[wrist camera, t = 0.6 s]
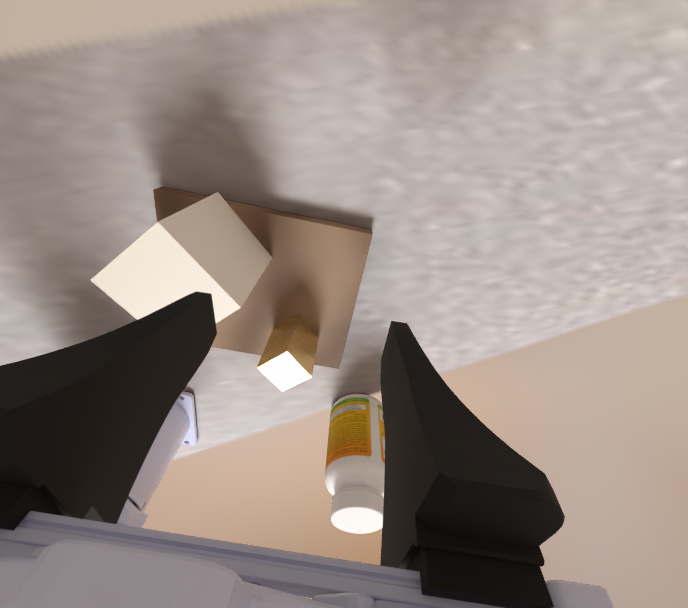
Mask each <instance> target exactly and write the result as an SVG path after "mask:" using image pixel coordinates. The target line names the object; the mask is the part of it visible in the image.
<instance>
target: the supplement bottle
mask: <svg viewBox="0 0 688 608" xmlns="http://www.w3.org/2000/svg"><path fill="white" fill-rule="evenodd" d="M384 473H385V431H384V419H383V407H382V403H381V402H380V401H378V400H377V399H375V398H374V397H372V396H369V395H365V394H350V395H346V396H343V397H342V398H340V399H338V400H337V401H336V402H335V403H334V405H333V407H332V409H331V415H330V426H329V437H328V448H327V459H326V469H325V483H326V487H327V489H328V490H329V492H330V493H331V494H332V495H333V497H332V502H331V521H332V523H333V525H334V526H335V527H337V528H338V529H340V530H343V531H346V532H350V533H359V534H363V533H370V532H374V531H377V530H379V529H381V528H382V527H383V504H384V498H383V497H384Z"/></svg>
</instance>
